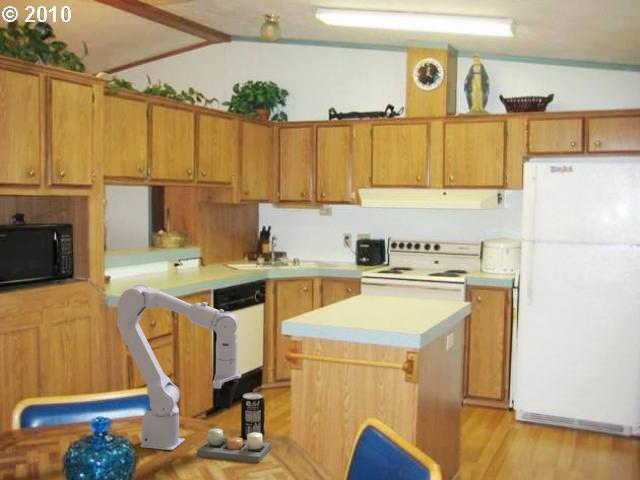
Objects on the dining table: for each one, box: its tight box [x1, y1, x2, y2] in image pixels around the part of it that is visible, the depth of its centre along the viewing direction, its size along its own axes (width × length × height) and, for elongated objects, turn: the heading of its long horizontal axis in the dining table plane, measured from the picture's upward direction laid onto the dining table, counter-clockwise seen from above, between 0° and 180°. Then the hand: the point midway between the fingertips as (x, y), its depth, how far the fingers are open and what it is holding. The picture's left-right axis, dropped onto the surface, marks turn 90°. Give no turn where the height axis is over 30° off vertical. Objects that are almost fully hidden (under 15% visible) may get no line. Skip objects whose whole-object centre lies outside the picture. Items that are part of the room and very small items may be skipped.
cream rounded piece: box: [247, 432, 263, 449], centre depth 175 cm, size 4×4×3 cm
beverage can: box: [240, 392, 266, 440], centre depth 187 cm, size 7×7×12 cm
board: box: [196, 437, 272, 464], centre depth 176 cm, size 17×10×2 cm, turn 77°
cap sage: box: [207, 428, 224, 445], centre depth 178 cm, size 4×4×3 cm
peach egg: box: [227, 436, 244, 450], centre depth 176 cm, size 4×4×3 cm
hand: (226, 407), depth 181 cm, fingers closed
